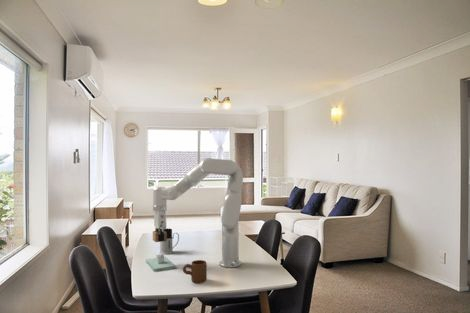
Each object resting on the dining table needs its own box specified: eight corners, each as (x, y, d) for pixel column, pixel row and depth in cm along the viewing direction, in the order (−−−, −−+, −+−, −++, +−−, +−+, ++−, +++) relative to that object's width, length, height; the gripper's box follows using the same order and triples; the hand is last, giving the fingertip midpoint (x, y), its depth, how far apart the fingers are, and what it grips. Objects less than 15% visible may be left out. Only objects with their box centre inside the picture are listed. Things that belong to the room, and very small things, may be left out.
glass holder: (165, 250, 234) (164, 227, 234) (182, 252, 227) (182, 229, 227) (156, 253, 226) (156, 230, 226) (174, 256, 220) (174, 232, 220)
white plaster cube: (164, 262, 201) (164, 255, 201) (157, 263, 199) (157, 256, 199) (162, 261, 204) (162, 254, 204) (156, 262, 202) (156, 255, 202)
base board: (175, 268, 195) (175, 265, 195) (154, 271, 190) (154, 268, 190) (165, 259, 213) (165, 256, 213) (145, 262, 208) (145, 259, 208)
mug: (184, 286, 168) (184, 266, 168) (181, 280, 175) (180, 262, 175) (208, 282, 173) (208, 263, 173) (204, 277, 180) (204, 259, 180)
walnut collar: (166, 241, 200) (166, 232, 200) (155, 242, 197) (155, 233, 197) (163, 238, 206) (163, 230, 206) (152, 239, 203) (152, 231, 203)
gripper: (170, 210, 196) (170, 242, 196) (162, 206, 211) (162, 236, 211) (157, 210, 192) (156, 243, 192) (149, 206, 208) (149, 237, 208)
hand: (159, 239), depth 202 cm, fingers closed on walnut collar, 6 cm apart
